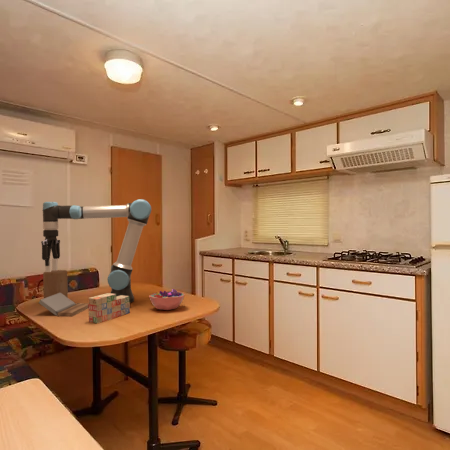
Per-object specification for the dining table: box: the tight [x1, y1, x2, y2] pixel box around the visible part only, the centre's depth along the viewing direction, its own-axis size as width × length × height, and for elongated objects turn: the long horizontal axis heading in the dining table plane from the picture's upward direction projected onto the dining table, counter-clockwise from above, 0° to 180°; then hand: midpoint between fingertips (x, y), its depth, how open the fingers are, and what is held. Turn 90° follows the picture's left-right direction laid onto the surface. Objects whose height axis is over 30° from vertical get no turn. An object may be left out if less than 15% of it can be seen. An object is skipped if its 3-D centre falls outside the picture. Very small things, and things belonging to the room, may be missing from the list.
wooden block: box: [42, 269, 69, 299], centre depth 203 cm, size 10×10×20 cm
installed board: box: [57, 302, 89, 318], centre depth 182 cm, size 8×20×2 cm, turn 175°
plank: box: [38, 293, 77, 317], centre depth 183 cm, size 12×18×2 cm
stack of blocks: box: [88, 292, 131, 324], centre depth 170 cm, size 21×6×12 cm, turn 150°
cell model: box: [148, 288, 186, 311], centre depth 185 cm, size 17×20×11 cm
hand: (51, 270), depth 184 cm, fingers open, 5 cm apart
